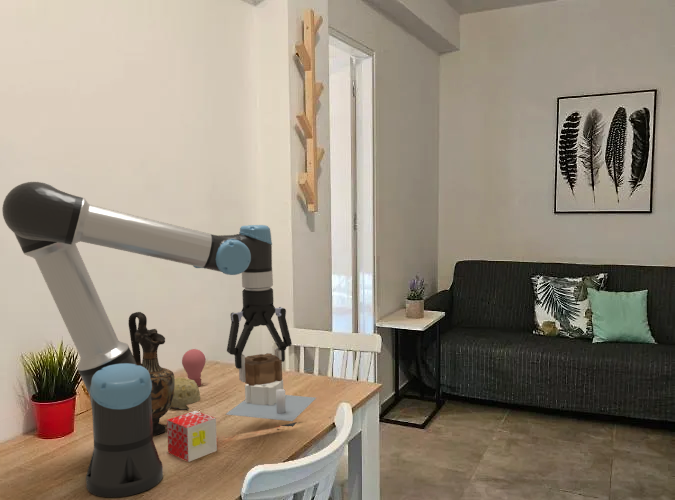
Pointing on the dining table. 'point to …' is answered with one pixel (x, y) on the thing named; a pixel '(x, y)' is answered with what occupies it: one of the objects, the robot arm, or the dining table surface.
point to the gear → (262, 393)
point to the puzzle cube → (191, 435)
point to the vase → (152, 367)
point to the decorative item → (184, 393)
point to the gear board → (275, 408)
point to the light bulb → (194, 364)
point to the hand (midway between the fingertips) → (260, 377)
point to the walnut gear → (262, 369)
